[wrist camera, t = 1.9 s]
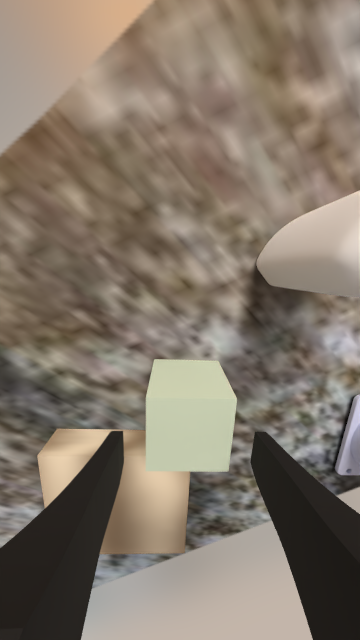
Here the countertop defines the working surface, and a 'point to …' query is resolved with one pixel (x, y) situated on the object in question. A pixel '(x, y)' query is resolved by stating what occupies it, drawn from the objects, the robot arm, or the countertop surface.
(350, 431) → the robot arm
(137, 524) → the block
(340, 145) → the countertop surface
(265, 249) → the eye dropper bottle
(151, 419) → the green cube
